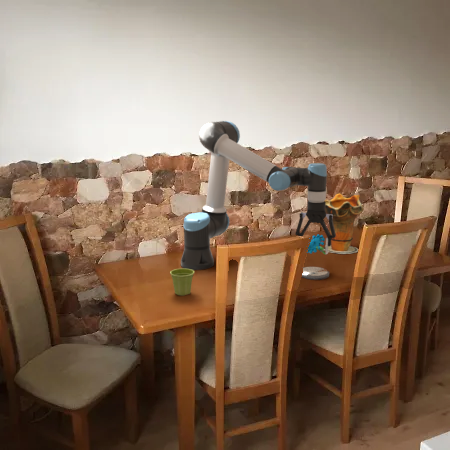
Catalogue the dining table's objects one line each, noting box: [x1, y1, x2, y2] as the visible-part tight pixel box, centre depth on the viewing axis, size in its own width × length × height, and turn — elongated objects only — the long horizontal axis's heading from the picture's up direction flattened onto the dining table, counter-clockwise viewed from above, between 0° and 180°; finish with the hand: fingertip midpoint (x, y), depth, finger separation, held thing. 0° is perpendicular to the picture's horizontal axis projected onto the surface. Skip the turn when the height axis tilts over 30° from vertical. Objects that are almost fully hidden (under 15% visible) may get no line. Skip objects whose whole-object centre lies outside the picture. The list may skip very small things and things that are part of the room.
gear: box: [306, 233, 327, 255], centre depth 221 cm, size 11×6×10 cm
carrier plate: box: [301, 266, 330, 281], centre depth 223 cm, size 13×13×2 cm
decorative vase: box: [323, 193, 365, 255], centre depth 258 cm, size 21×23×28 cm
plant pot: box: [169, 267, 195, 296], centre depth 202 cm, size 9×9×9 cm
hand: (314, 252), depth 221 cm, fingers closed on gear, 9 cm apart
